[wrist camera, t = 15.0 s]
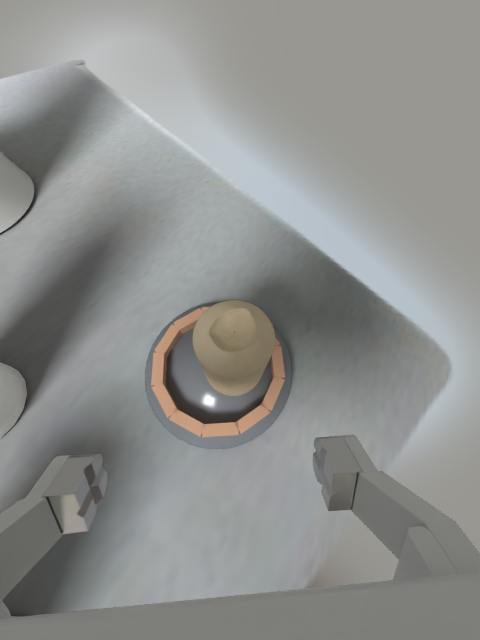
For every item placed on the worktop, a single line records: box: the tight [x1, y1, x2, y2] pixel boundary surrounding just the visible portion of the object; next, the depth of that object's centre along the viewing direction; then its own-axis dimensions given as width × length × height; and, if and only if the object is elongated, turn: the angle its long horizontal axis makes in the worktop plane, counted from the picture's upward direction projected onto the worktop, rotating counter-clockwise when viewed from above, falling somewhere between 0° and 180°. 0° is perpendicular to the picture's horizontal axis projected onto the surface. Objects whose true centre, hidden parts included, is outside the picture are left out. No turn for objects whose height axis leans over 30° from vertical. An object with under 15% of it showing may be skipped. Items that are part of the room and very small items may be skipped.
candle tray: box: [145, 303, 292, 449], centre depth 25 cm, size 14×14×2 cm
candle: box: [193, 300, 275, 396], centre depth 21 cm, size 6×6×10 cm
